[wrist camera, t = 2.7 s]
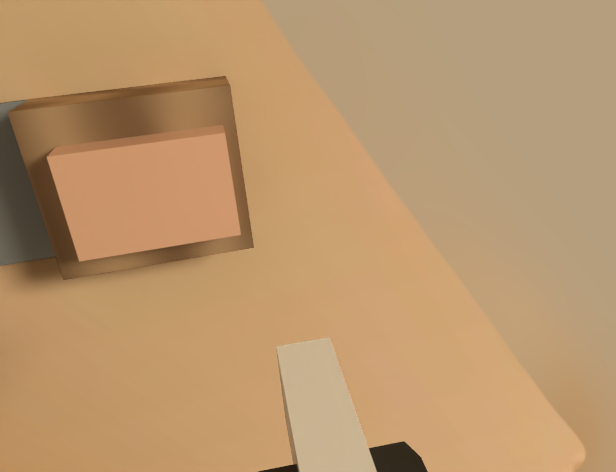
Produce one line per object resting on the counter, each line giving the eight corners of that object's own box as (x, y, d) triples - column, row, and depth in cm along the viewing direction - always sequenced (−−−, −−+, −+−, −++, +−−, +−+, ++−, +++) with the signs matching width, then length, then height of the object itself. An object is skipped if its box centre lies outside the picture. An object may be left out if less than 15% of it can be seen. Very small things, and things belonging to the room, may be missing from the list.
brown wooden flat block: (76, 251, 35) (63, 279, 31) (28, 99, 30) (7, 112, 27) (247, 223, 36) (253, 247, 33) (225, 76, 32) (229, 85, 28)
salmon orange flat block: (85, 246, 30) (79, 261, 29) (55, 147, 28) (46, 156, 26) (238, 221, 32) (241, 234, 30) (222, 124, 29) (224, 132, 27)
